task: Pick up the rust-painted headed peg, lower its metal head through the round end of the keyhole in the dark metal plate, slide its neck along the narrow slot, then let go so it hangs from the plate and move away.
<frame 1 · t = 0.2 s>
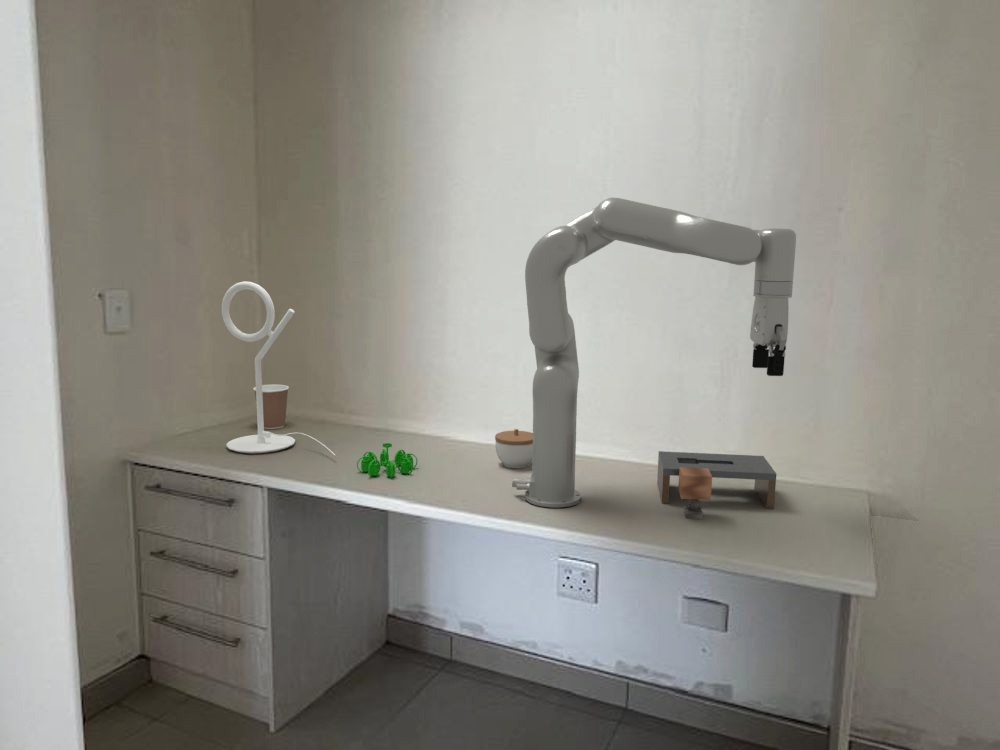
hand: (767, 371, 165), 31 cm above the table, fingers open, 9 cm apart
lidded jar: (515, 465, 202), on the table
coffee cup: (272, 427, 238), on the table
chandelier: (387, 472, 196), on the table
keyhole stand: (712, 495, 179), on the table
desk lamp: (287, 449, 214), on the table
headed peg: (692, 515, 166), on the table
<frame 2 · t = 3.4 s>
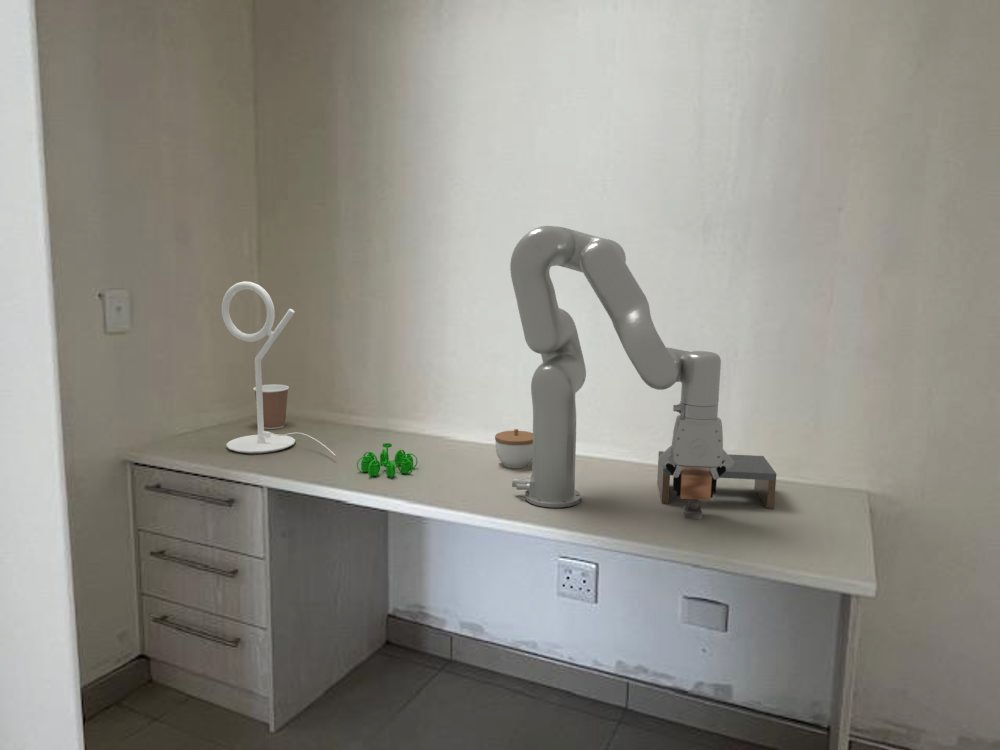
hand: (693, 494, 165), 5 cm above the table, fingers closed on headed peg, 6 cm apart
headed peg: (692, 515, 166), on the table, touching gripper
everything else where it was.
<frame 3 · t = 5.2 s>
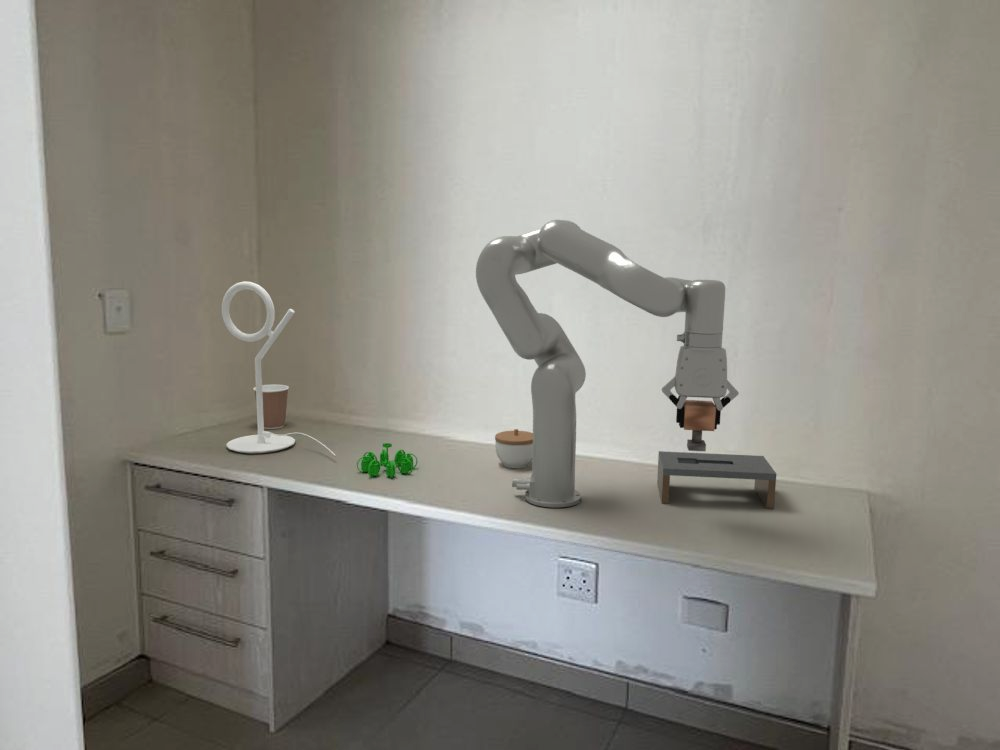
hand: (697, 426, 163), 19 cm above the table, fingers closed on headed peg, 6 cm apart
headed peg: (696, 448, 164), point 15 cm above the table, touching gripper
everything else where it was.
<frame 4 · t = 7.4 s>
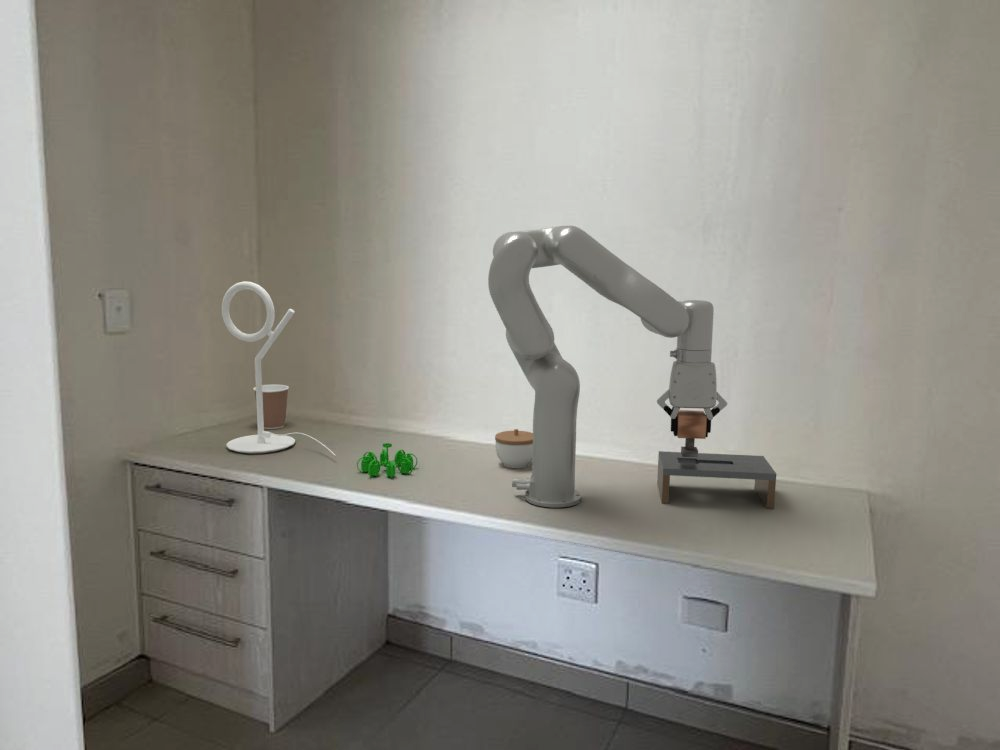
hand: (690, 434, 178), 14 cm above the table, fingers closed on headed peg, 6 cm apart
headed peg: (689, 455, 178), point 9 cm above the table, touching gripper
everything else where it was.
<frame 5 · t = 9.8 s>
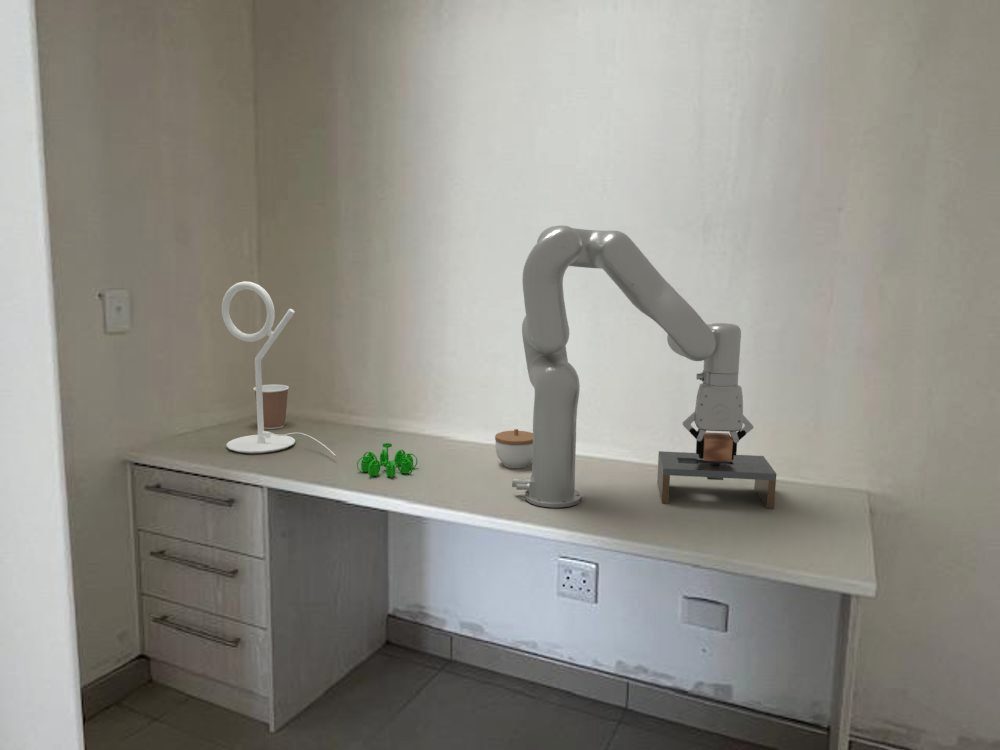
hand: (715, 456, 178), 9 cm above the table, fingers closed on headed peg, 6 cm apart
headed peg: (714, 477, 179), point 4 cm above the table, touching gripper
everything else where it was.
when the fingers open (9 cm above the table, at t = 11.6 s): headed peg stays where it is, resting on keyhole stand.
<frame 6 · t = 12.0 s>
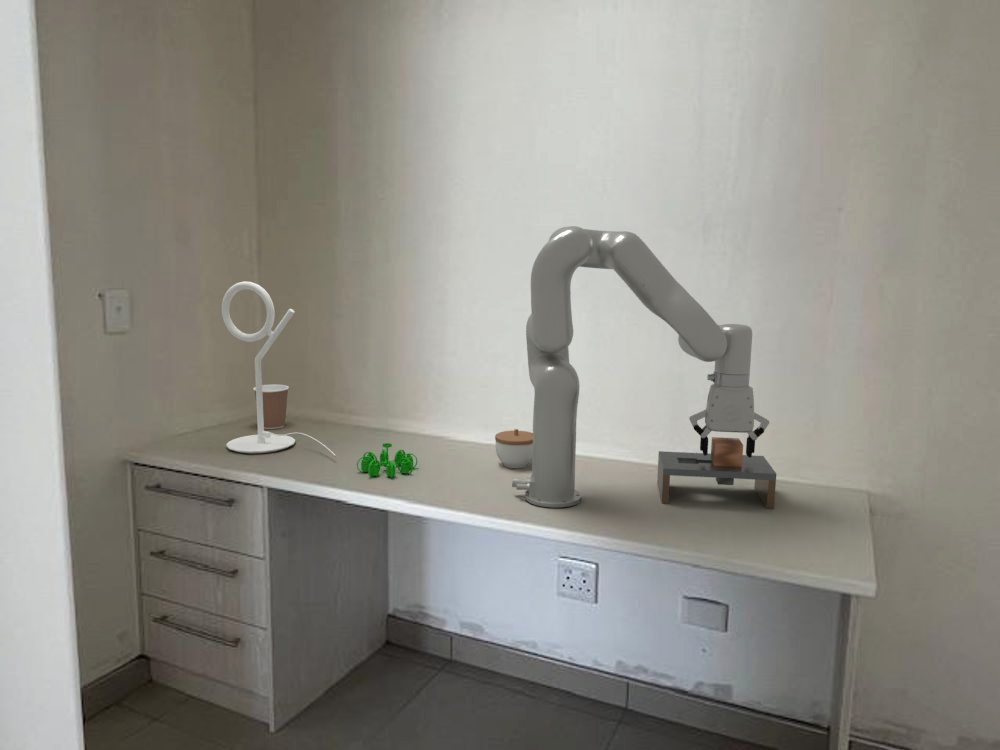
hand: (726, 454, 177), 10 cm above the table, fingers open, 9 cm apart
headed peg: (724, 482, 178), point 3 cm above the table, touching keyhole stand
everything else where it was.
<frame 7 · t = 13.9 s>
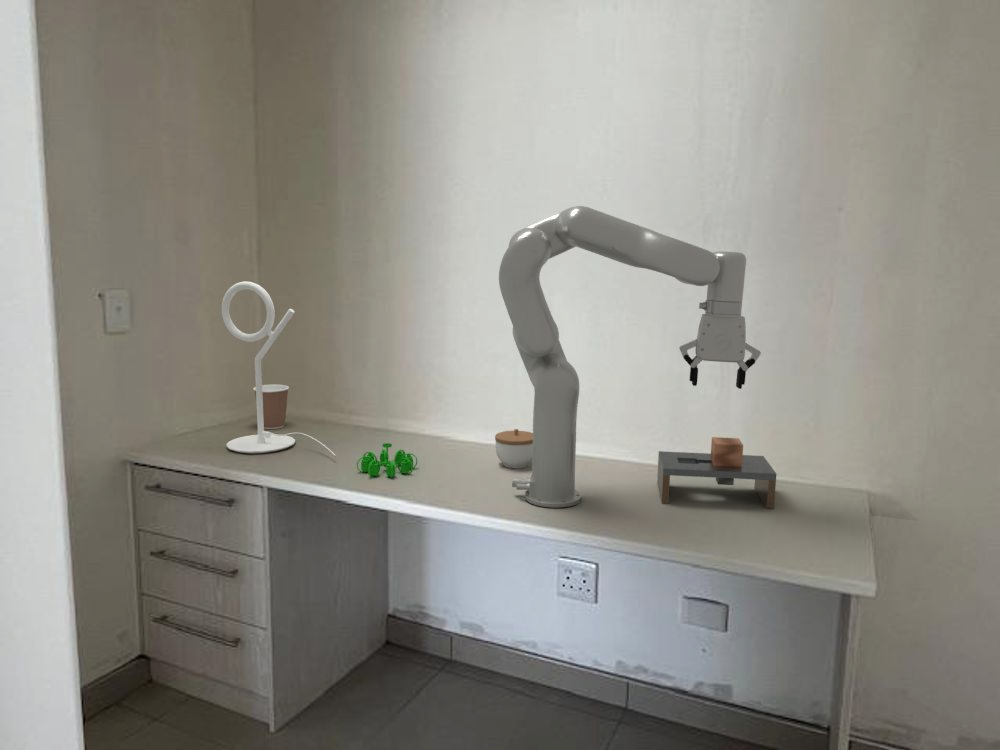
hand: (716, 386, 174), 26 cm above the table, fingers open, 9 cm apart
nothing on the table moved.
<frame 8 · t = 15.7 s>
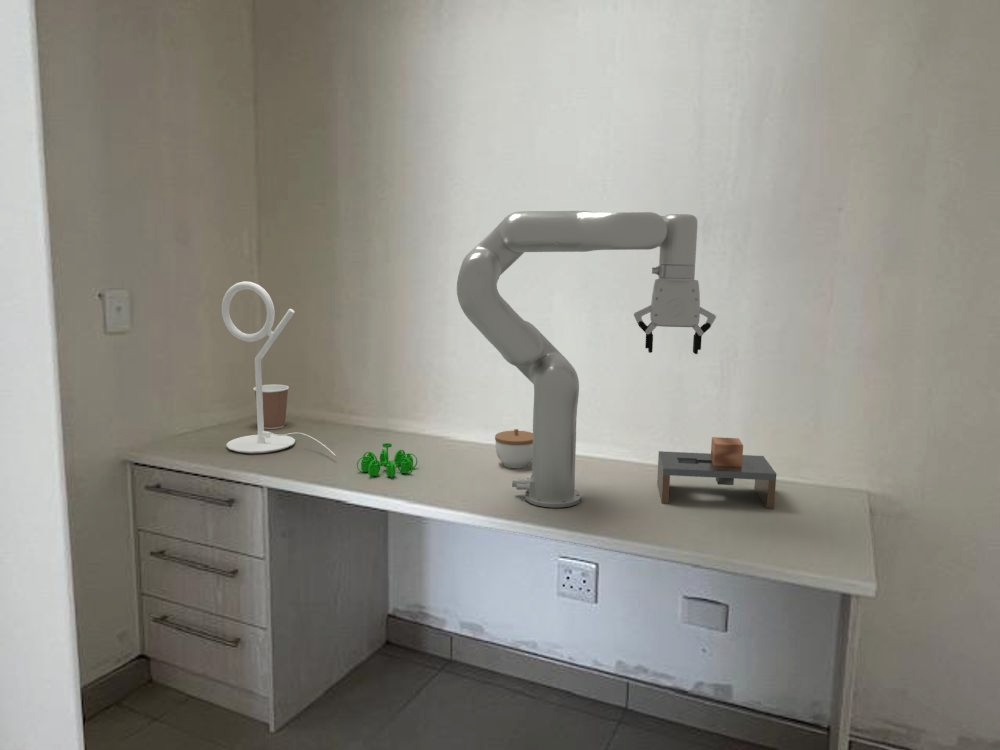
hand: (672, 352, 171), 33 cm above the table, fingers open, 9 cm apart
nothing on the table moved.
at the end: headed peg 0.1 cm from the target spot on the keyhole stand, point 3.3 cm above the keyhole stand's base; headed peg tilted 0°; the gripper is holding nothing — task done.
